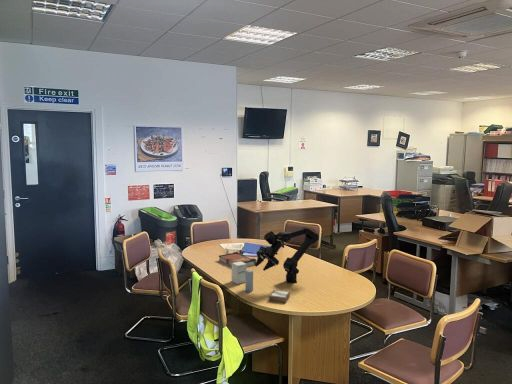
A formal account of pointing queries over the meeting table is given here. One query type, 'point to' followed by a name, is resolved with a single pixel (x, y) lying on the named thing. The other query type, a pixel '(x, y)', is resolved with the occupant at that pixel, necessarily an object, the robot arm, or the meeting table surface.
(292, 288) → the meeting table surface
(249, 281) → the slate pillar
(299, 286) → the meeting table surface
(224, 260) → the book
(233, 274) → the supplement box
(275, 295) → the foundation block
